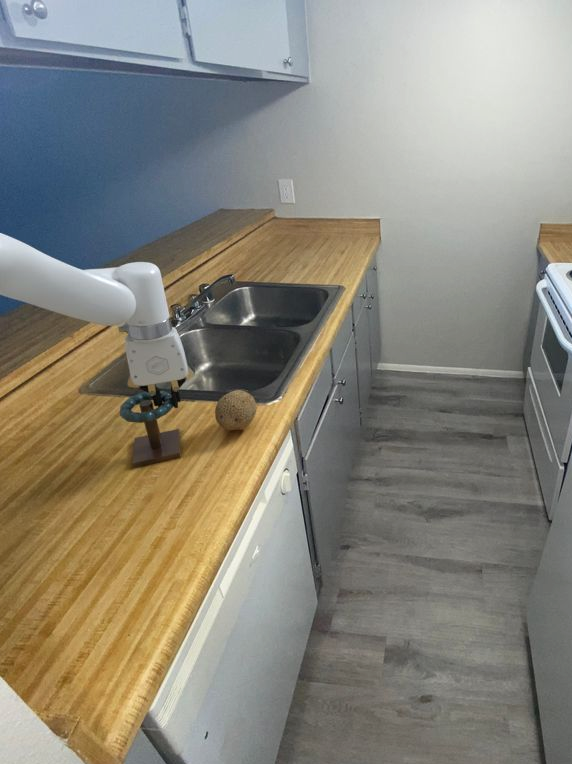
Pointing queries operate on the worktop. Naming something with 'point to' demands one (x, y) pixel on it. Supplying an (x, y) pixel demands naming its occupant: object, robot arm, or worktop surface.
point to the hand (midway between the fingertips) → (168, 405)
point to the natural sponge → (235, 410)
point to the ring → (149, 415)
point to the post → (155, 442)
